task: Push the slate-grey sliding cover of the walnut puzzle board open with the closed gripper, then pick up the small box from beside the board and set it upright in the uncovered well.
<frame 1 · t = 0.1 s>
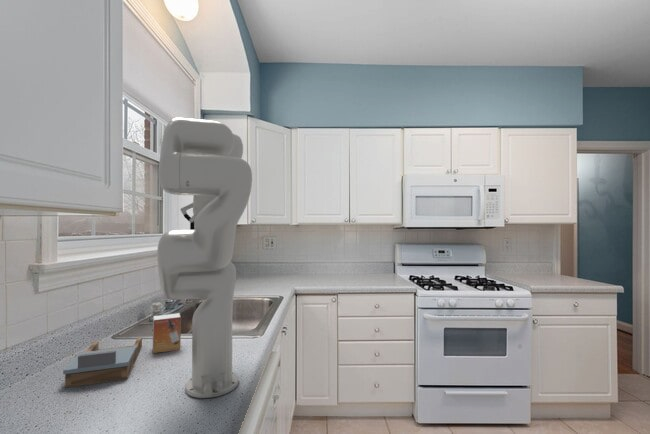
hand: (210, 235, 107), 37 cm above the counter, tool pointing down, fingers open, 9 cm apart
cover: (103, 353, 91), point 5 cm above the counter, slide at 0.0 cm
puzzle board: (108, 364, 97), on the counter
small box: (166, 349, 109), on the counter
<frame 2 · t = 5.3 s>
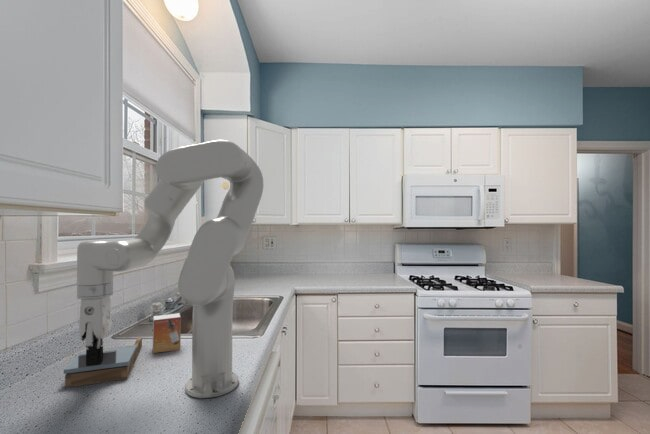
hand: (94, 363, 84), 6 cm above the counter, tool pointing down, fingers closed
cover: (103, 353, 91), point 5 cm above the counter, slide at 0.3 cm, touching gripper
everything else where it was.
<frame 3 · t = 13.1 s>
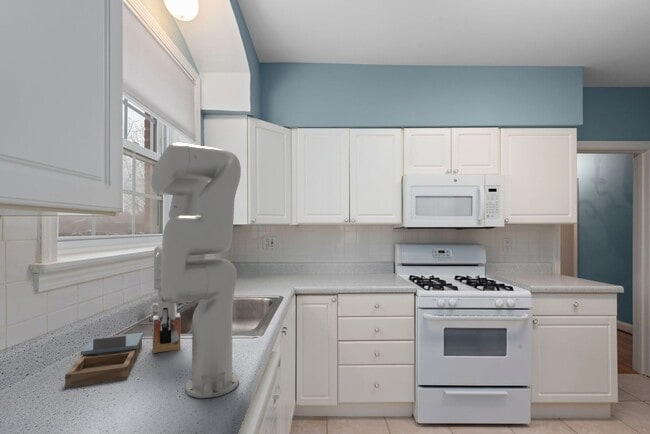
hand: (166, 338, 109), 3 cm above the counter, tool pointing down, fingers closed on small box, 6 cm apart
cover: (114, 338, 103), point 5 cm above the counter, slide at 12.9 cm
small box: (166, 349, 109), on the counter, touching gripper
when the fingers open (5 cm above the counter, at t = 18.9 s): small box moves 1 cm, resting on puzzle board.
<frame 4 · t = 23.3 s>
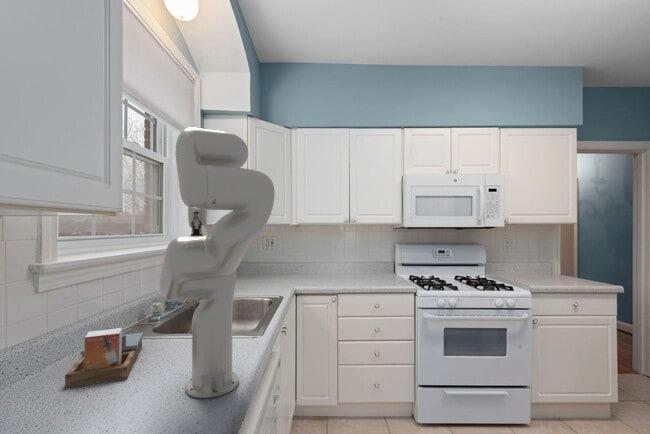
hand: (196, 247, 102), 33 cm above the counter, tool pointing down, fingers open, 9 cm apart
small box: (103, 371, 91), resting on puzzle board
everything else where it was.
at the end: cover slide at 12.9 cm; small box 0.1 cm from the target spot on the puzzle board, point 0.4 cm above the puzzle board's base; small box tilted 0° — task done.
